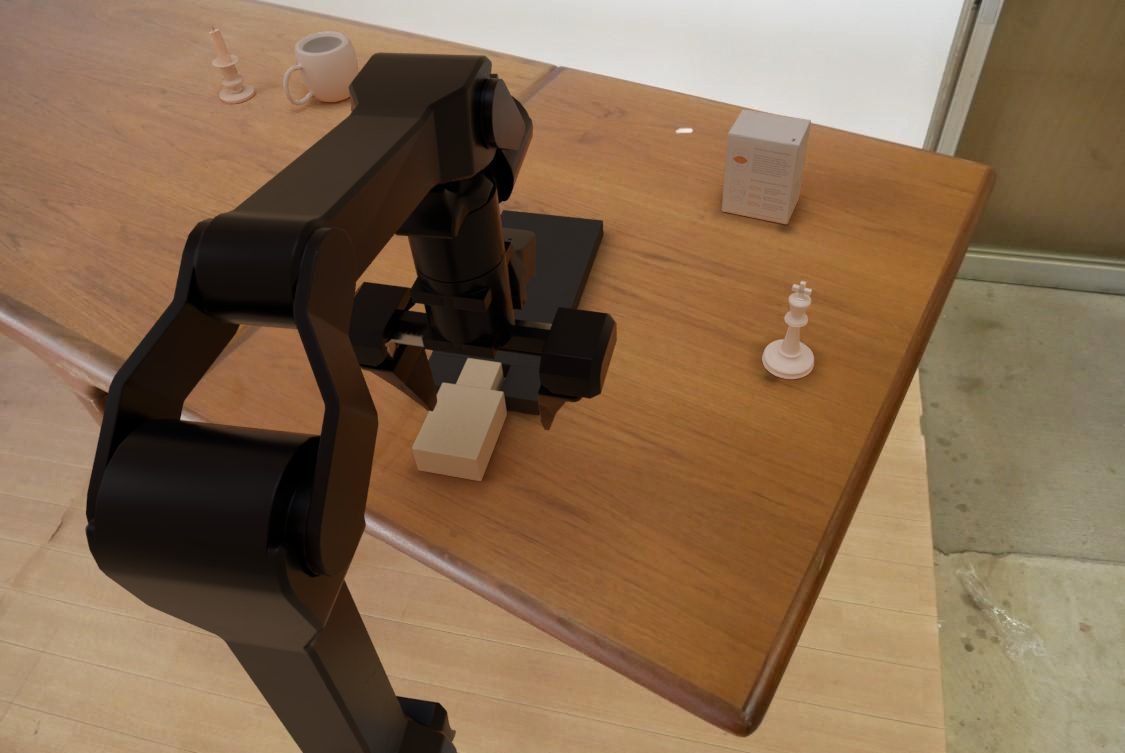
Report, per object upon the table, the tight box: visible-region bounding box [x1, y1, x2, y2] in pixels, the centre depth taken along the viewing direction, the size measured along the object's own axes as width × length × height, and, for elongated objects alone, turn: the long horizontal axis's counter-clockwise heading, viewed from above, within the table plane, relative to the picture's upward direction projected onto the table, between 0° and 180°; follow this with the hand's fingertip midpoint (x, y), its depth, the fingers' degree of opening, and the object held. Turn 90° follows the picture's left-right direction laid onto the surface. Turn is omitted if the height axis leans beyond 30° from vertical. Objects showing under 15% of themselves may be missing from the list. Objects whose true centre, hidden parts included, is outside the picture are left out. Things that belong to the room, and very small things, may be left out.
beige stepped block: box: [411, 358, 508, 482], centre depth 77 cm, size 12×6×3 cm, turn 166°
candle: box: [209, 26, 256, 105], centre depth 122 cm, size 5×5×10 cm
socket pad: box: [428, 209, 604, 416], centre depth 89 cm, size 28×12×2 cm, turn 166°
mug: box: [282, 30, 360, 106], centre depth 120 cm, size 12×8×8 cm
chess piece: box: [761, 280, 815, 380], centre depth 78 cm, size 5×5×10 cm
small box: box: [721, 108, 812, 225], centre depth 95 cm, size 8×6×10 cm
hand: (489, 415), depth 63 cm, fingers open, 9 cm apart
